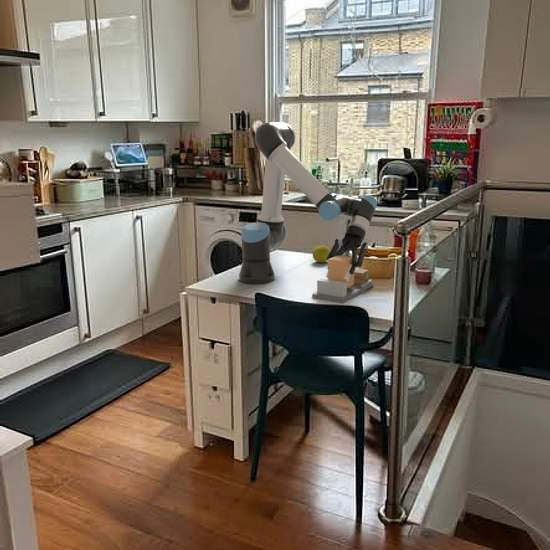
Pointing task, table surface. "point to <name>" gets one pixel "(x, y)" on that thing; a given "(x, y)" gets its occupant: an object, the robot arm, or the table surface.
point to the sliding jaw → (360, 276)
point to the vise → (338, 290)
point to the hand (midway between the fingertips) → (336, 279)
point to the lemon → (321, 253)
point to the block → (340, 269)
